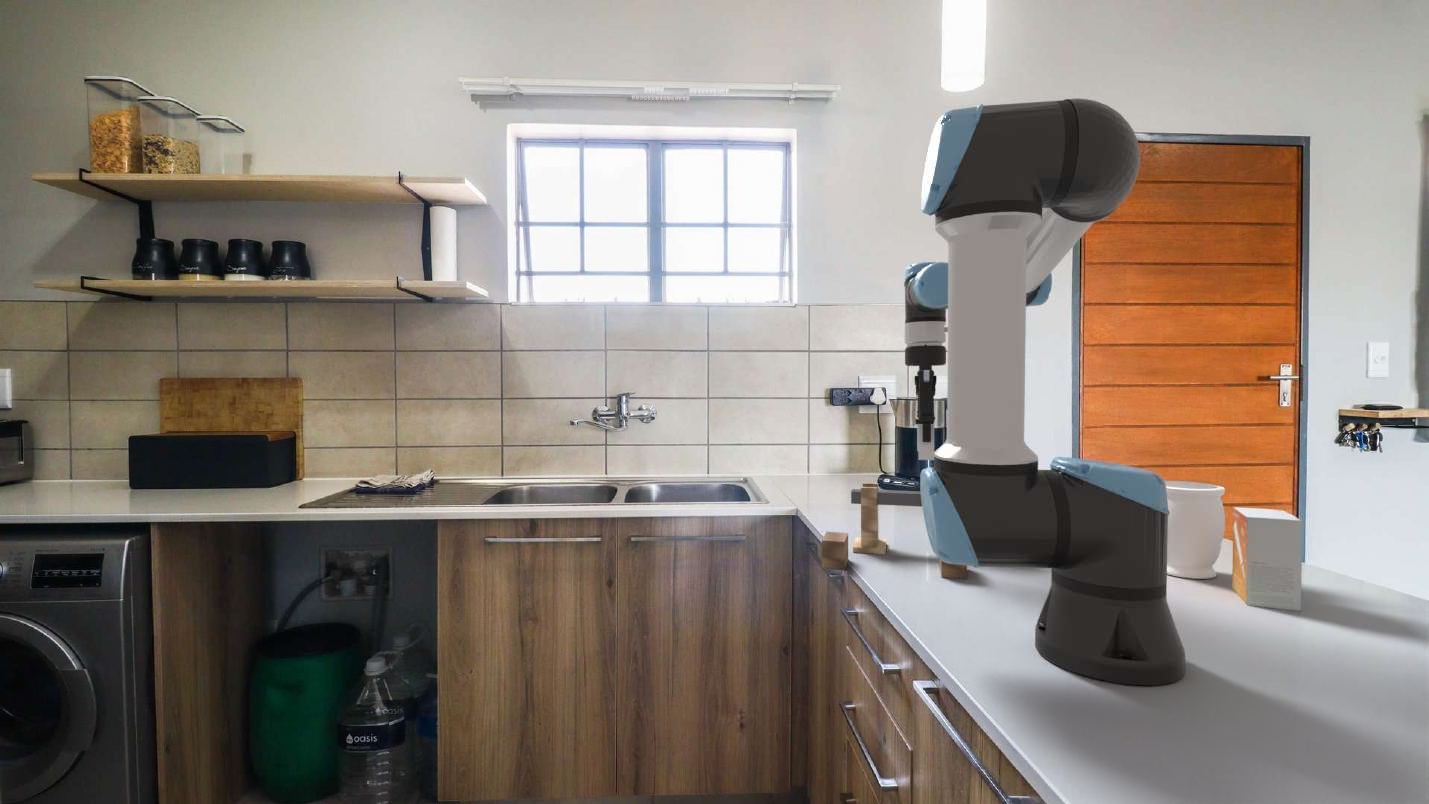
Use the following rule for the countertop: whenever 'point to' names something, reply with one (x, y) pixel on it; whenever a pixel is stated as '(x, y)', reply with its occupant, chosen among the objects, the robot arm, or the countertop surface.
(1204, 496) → the jar
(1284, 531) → the small box
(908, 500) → the rail
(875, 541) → the hook stand
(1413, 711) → the countertop surface
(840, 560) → the block
